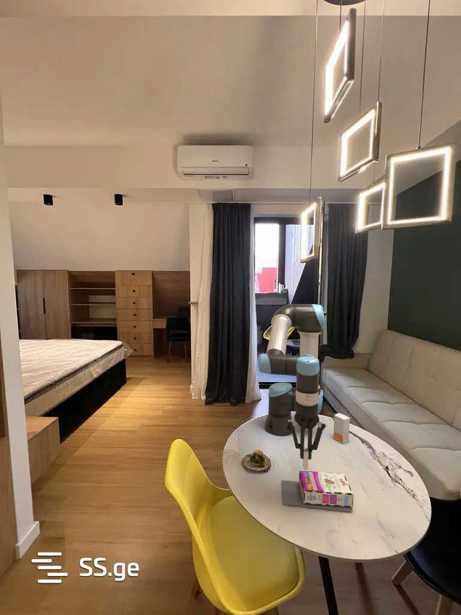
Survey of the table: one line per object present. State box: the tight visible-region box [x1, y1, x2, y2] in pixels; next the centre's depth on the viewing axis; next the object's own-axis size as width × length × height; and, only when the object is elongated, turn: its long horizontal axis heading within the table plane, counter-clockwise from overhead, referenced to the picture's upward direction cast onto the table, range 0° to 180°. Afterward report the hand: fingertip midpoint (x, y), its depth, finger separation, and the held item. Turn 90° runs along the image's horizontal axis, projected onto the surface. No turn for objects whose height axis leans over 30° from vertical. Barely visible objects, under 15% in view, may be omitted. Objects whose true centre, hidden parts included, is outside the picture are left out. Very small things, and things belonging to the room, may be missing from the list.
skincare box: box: [332, 412, 351, 445], centre depth 139 cm, size 6×4×12 cm
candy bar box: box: [298, 470, 354, 508], centre depth 103 cm, size 11×5×16 cm
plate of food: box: [241, 448, 272, 472], centre depth 121 cm, size 12×12×8 cm
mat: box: [281, 479, 352, 513], centre depth 103 cm, size 12×22×1 cm, turn 82°
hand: (305, 467), depth 103 cm, fingers closed
